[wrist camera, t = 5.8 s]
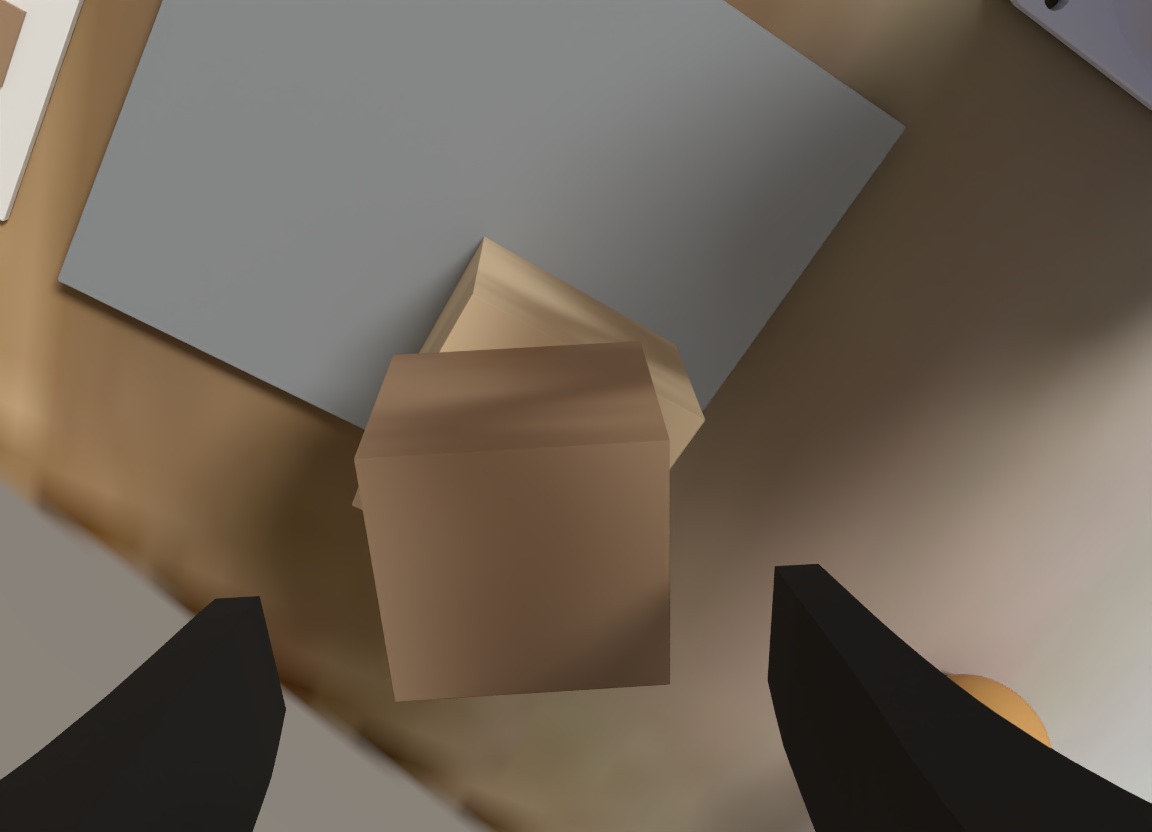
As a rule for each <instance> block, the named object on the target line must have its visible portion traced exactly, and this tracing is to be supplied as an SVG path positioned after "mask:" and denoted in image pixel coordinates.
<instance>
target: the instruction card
mask: <svg viewBox="0 0 1152 832" xmlns="http://www.w3.org/2000/svg"><path fill="white" fill-rule="evenodd" d="M83 1H84V0H0V220H2V221H5V220H7V219H9V216H10V213H11V210H12V207H13V204H14V201H15V198H16V196H17V193H18V190H19V187H20V184H21V181H22V178H23V175H24V172H25V169H26V167H27V164H28V161H29V158H30V155H31V152H32V149H33V146H34V143H35V141H36V138H37V135H38V132H39V129H40V126H41V123H42V120H43V117H44V114H45V112H46V109H47V106H48V103H49V100H50V97H51V94H52V91H53V88H54V85H55V83H56V80H57V77H58V74H59V71H60V68H61V65H62V62H63V59H64V57H65V54H66V51H67V48H68V45H69V42H70V39H71V36H72V33H73V30H74V28H75V25H76V22H77V19H78V16H79V13H80V10H81V7H82V4H83Z"/></svg>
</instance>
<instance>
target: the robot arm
mask: <svg viewBox="0 0 1152 832" xmlns="http://www.w3.org/2000/svg"><path fill="white" fill-rule="evenodd" d="M1010 1H1011V3H1012V4H1013V5H1014V6H1015V7H1017V8H1018V9H1019V10H1020V11H1022V12H1023V13H1024V14H1026V15H1027V16H1028V17H1030V18H1031V19H1032V20H1034V21H1035V22H1036V23H1037V24H1039V25H1040V26H1041V27H1043V28H1044V29H1045V30H1047V31H1048V32H1049V33H1051V34H1052V35H1053V36H1054V37H1056V38H1057V39H1058V40H1060V41H1061V42H1062V43H1064V44H1065V45H1066V46H1068V47H1069V48H1070V49H1071V50H1073V51H1074V52H1075V53H1077V54H1078V55H1079V56H1081V57H1082V58H1083V59H1084V60H1086V61H1087V62H1088V63H1090V64H1091V65H1092V66H1094V67H1095V68H1096V69H1098V70H1099V71H1100V72H1101V73H1103V74H1104V75H1105V76H1107V77H1108V78H1109V79H1111V80H1112V81H1113V82H1115V83H1116V84H1117V85H1118V86H1120V87H1121V88H1122V89H1124V90H1125V91H1126V92H1128V93H1129V94H1130V95H1132V96H1133V97H1134V98H1135V99H1137V100H1138V101H1139V102H1141V103H1142V104H1143V105H1145V106H1146V107H1147V108H1149V109H1150V110H1151V111H1152V0H1059V1H1058V3H1057V4H1056V5H1055V6H1054V7H1053V8H1052V9H1048V8H1047V6H1046V5H1045V0H1010ZM768 684H769V688H770V692H771V697H772V701H773V705H774V710H775V714H776V718H777V722H778V726H779V730H780V734H781V738H782V742H783V746H784V749H785V751H786V754H787V757H788V760H789V763H790V765H791V768H792V771H793V773H794V776H795V779H796V781H797V784H798V787H799V789H800V792H801V795H802V797H803V800H804V803H805V805H806V808H807V811H808V813H809V816H810V818H811V821H812V824H813V826H814V829H815V832H1152V804H1151V803H1149V802H1147V801H1145V800H1144V799H1142V798H1140V797H1138V796H1136V795H1134V794H1132V793H1130V792H1128V791H1126V790H1124V789H1122V788H1120V787H1118V786H1117V785H1115V784H1113V783H1111V782H1109V781H1108V780H1106V779H1104V778H1102V777H1100V776H1099V775H1097V774H1095V773H1093V772H1091V771H1090V770H1088V769H1086V768H1084V767H1082V766H1081V765H1079V764H1077V763H1075V762H1073V761H1072V760H1070V759H1068V758H1067V757H1065V756H1063V755H1062V754H1060V753H1058V752H1056V751H1055V750H1053V749H1051V748H1050V747H1048V746H1047V745H1045V744H1043V743H1042V742H1040V741H1039V740H1037V739H1036V738H1034V737H1032V736H1031V735H1029V734H1028V733H1026V732H1025V731H1023V730H1022V729H1020V728H1019V727H1017V726H1016V725H1014V724H1013V723H1011V722H1009V721H1008V720H1006V719H1005V718H1003V717H1002V716H1000V715H999V714H997V713H996V712H994V711H993V710H992V709H990V708H989V707H987V706H986V705H984V704H983V703H982V702H980V701H979V700H977V699H976V698H975V697H973V696H972V695H971V694H969V693H968V692H967V691H965V690H964V689H963V688H961V687H960V686H959V685H958V684H956V683H955V682H954V681H952V680H951V679H950V678H948V677H947V676H946V675H944V674H943V673H942V672H940V671H939V670H938V669H937V668H935V667H934V666H933V665H932V664H930V663H929V662H928V661H927V660H925V659H924V658H923V657H922V656H921V655H919V654H918V653H917V652H916V651H915V650H913V649H912V648H911V647H910V646H909V645H907V644H906V643H905V642H904V641H903V640H902V639H900V638H899V637H898V636H897V635H896V634H895V633H893V632H892V631H891V630H890V629H889V628H888V627H887V626H885V625H884V624H883V623H882V622H881V621H880V620H879V619H878V618H877V617H875V616H874V615H873V614H872V613H871V612H870V611H869V610H868V609H867V608H866V607H865V606H863V605H862V604H861V603H860V602H859V601H858V600H857V599H856V598H855V597H854V596H853V595H851V594H850V593H849V592H848V591H847V590H846V589H845V588H844V587H843V586H842V585H841V584H840V583H839V582H837V581H836V580H835V579H834V578H833V577H832V576H831V575H830V574H829V573H828V572H827V571H826V570H824V569H823V568H822V567H821V566H820V565H819V564H808V565H790V566H775V573H774V589H773V604H772V620H771V636H770V652H769V668H768ZM285 711H286V707H285V703H284V699H283V695H282V690H281V686H280V682H279V677H278V673H277V669H276V665H275V660H274V656H273V652H272V647H271V643H270V639H269V635H268V630H267V626H266V622H265V617H264V613H263V609H262V605H261V600H260V596H256V597H238V598H221V599H215V600H214V601H212V602H211V603H210V604H209V605H208V606H206V607H205V608H204V609H203V610H202V611H201V612H199V613H198V614H197V615H196V616H195V617H194V618H193V619H192V620H191V621H189V622H188V623H187V624H186V625H185V626H184V627H183V628H182V629H181V630H180V631H178V632H177V633H176V634H175V635H174V636H173V637H172V638H171V639H170V640H169V641H168V642H166V643H165V645H163V646H162V647H161V648H160V649H159V650H158V651H157V652H156V653H155V654H153V655H152V656H151V657H150V658H149V659H148V660H147V661H146V662H144V663H143V664H142V665H141V666H140V667H139V668H138V669H137V670H135V671H134V672H133V673H132V674H131V675H130V676H129V677H128V678H127V679H125V680H124V681H123V682H122V683H121V684H120V685H119V686H117V687H116V688H115V689H114V690H113V691H112V692H111V693H110V694H108V695H107V696H106V697H105V698H104V699H102V700H101V701H100V702H99V703H98V704H96V705H95V706H94V707H93V708H92V709H90V710H89V711H88V712H87V713H85V714H84V715H83V716H82V717H81V718H79V719H78V720H77V721H76V722H74V723H73V724H72V725H71V726H70V727H68V728H67V729H66V730H65V731H63V732H62V733H61V734H60V735H59V736H58V737H56V738H55V739H54V740H53V741H51V742H50V743H49V744H48V745H46V746H45V747H44V748H43V749H41V750H40V751H39V752H38V753H36V754H35V755H34V756H32V757H31V758H30V759H29V760H27V761H26V762H24V763H23V764H22V765H20V766H19V767H18V768H16V769H15V770H14V771H12V772H11V773H9V774H8V775H7V776H6V777H4V778H3V779H1V780H0V832H253V829H254V826H255V823H256V820H257V817H258V814H259V812H260V809H261V806H262V803H263V800H264V798H265V795H266V792H267V789H268V786H269V783H270V780H271V776H272V772H273V768H274V764H275V759H276V755H277V750H278V746H279V741H280V736H281V731H282V726H283V721H284V716H285Z"/></svg>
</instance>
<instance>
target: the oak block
mask: <svg viewBox="0 0 1152 832" xmlns="http://www.w3.org/2000/svg"><path fill="white" fill-rule="evenodd" d="M631 341H641V344H642V348H643V351H644V355H645V358H646V361H647V365H648V368H649V371H650V375H651V378H652V382H653V385H654V388H655V392H656V395H657V399H658V402H659V405H660V409H661V412H662V416H663V419H664V422H665V426H666V429H667V432H668V436H669V439H670V468H671V467H672V466H673V464H674V463H675V461H676V460H677V459H678V457H679V456H680V454H681V453H682V452H683V450H684V449H685V448H686V446H687V445H688V443H689V442H690V441H691V439H692V438H693V436H694V435H695V434H696V432H697V431H698V429H699V428H700V427H701V425H702V424H703V423H704V421H705V418H704V416H703V413H702V411H701V408H700V406H699V403H698V400H697V398H696V395H695V393H694V390H693V388H692V385H691V382H690V380H689V377H688V375H687V372H686V370H685V367H684V364H683V362H682V359H681V357H680V354H679V352H678V349H677V347H676V345H675V344H673V343H672V342H670V341H668V340H666V339H664V338H663V337H661V336H659V335H657V334H656V333H654V332H652V331H650V330H649V329H647V328H645V327H643V326H642V325H640V324H638V323H636V322H634V321H633V320H631V319H629V318H627V317H626V316H624V315H622V314H620V313H619V312H617V311H615V310H613V309H611V308H610V307H608V306H606V305H604V304H603V303H601V302H599V301H597V300H596V299H594V298H592V297H590V296H589V295H587V294H585V293H583V292H581V291H580V290H578V289H576V288H574V287H573V286H571V285H569V284H567V283H566V282H564V281H562V280H560V279H559V278H557V277H555V276H553V275H551V274H550V273H548V272H546V271H544V270H543V269H541V268H539V267H537V266H536V265H534V264H532V263H530V262H529V261H527V260H525V259H523V258H521V257H520V256H518V255H516V254H514V253H513V252H511V251H509V250H507V249H506V248H504V247H502V246H500V245H498V244H497V243H495V242H493V241H491V240H490V239H488V238H486V237H484V238H483V240H482V241H481V243H480V245H479V247H478V249H477V250H476V252H475V254H474V256H473V257H472V259H471V261H470V263H469V265H468V266H467V268H466V270H465V272H464V274H463V275H462V277H461V279H460V281H459V282H458V284H457V286H456V288H455V290H454V291H453V293H452V295H451V297H450V298H449V300H448V302H447V304H446V306H445V307H444V309H443V311H442V313H441V314H440V316H439V318H438V320H437V322H436V323H435V325H434V327H433V329H432V330H431V332H430V334H429V336H428V338H427V339H426V341H425V343H424V345H423V346H422V348H421V350H420V352H419V353H437V352H454V351H472V350H490V349H507V348H525V347H543V346H560V345H578V344H596V343H613V342H631ZM352 506H355V507H357V508H359V509H361V510H363V509H362V503H361V497H360V491H359V486H358V489H357V492H356V495H355V498H354V500H353V503H352Z"/></svg>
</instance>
